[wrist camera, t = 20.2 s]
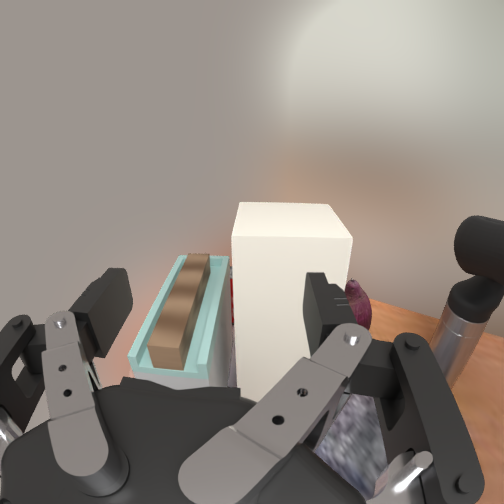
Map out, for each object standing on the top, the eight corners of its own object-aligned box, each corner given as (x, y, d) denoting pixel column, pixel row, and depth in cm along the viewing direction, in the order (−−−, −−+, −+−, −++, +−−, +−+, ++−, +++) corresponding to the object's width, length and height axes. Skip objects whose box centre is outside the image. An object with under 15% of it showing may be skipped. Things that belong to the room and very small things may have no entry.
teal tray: (180, 267, 53) (179, 255, 52) (229, 268, 53) (229, 256, 52) (132, 371, 30) (127, 356, 29) (208, 379, 30) (206, 364, 29)
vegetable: (346, 353, 61) (355, 311, 51) (317, 325, 68) (319, 281, 59) (378, 328, 64) (390, 284, 55) (349, 303, 71) (355, 258, 62)
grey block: (190, 339, 61) (180, 267, 53) (232, 341, 60) (229, 268, 53) (163, 441, 38) (132, 371, 30) (220, 447, 37) (208, 379, 30)
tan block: (190, 272, 50) (188, 253, 48) (210, 272, 50) (209, 253, 48) (153, 367, 30) (146, 345, 28) (183, 370, 30) (178, 348, 28)
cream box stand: (242, 369, 53) (239, 202, 39) (305, 369, 53) (328, 204, 39) (239, 421, 42) (231, 235, 29) (312, 420, 42) (352, 238, 28)
